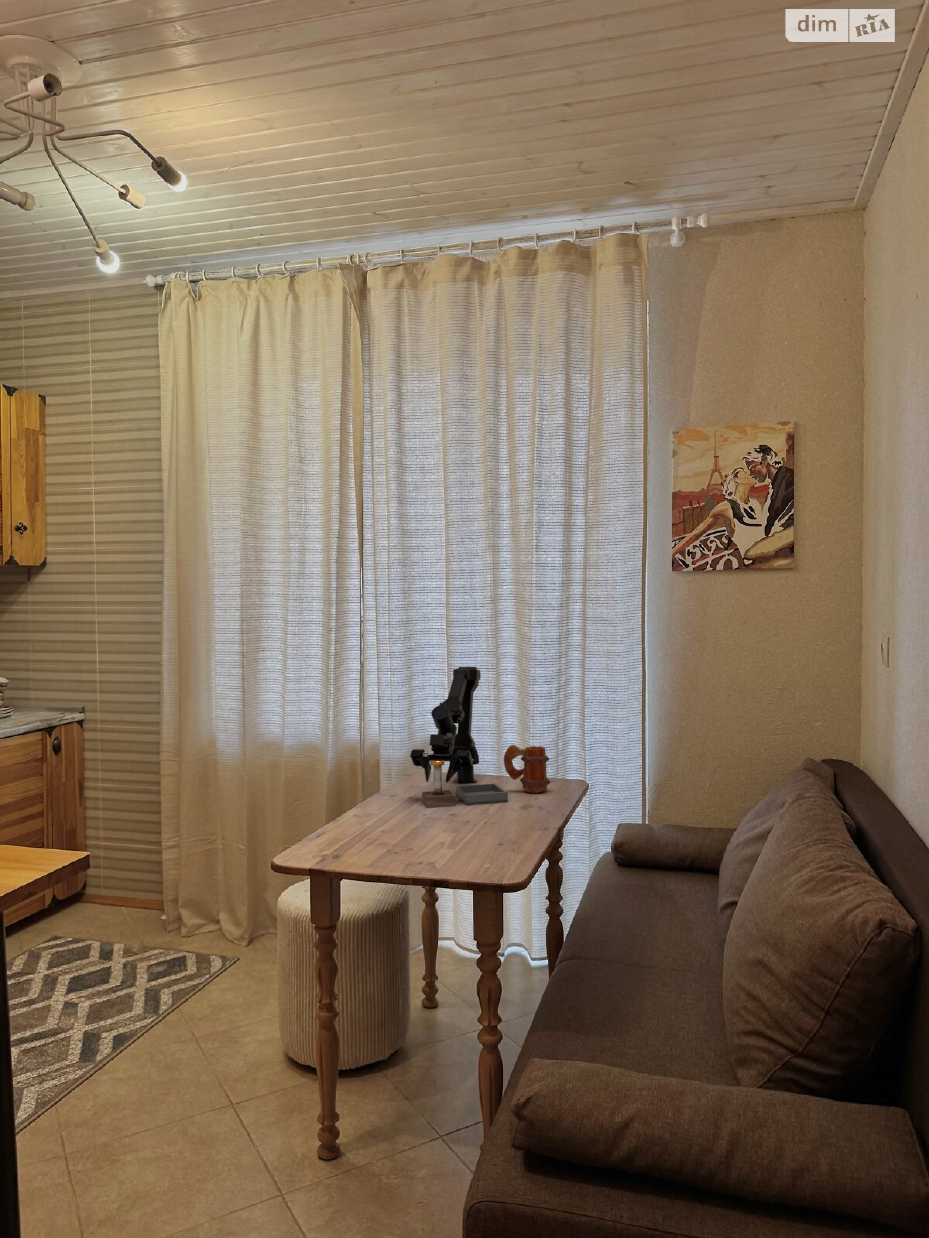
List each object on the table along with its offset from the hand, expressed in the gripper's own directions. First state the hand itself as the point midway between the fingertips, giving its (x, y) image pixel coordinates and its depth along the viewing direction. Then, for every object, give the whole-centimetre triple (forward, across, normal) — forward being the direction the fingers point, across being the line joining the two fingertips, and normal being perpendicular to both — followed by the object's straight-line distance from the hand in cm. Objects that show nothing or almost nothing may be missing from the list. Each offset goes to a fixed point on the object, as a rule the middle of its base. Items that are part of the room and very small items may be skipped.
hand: (436, 781), depth 275 cm
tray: (-2, +11, +12) cm, 17 cm away
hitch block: (+4, 0, +6) cm, 7 cm away
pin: (+4, 0, +6) cm, 7 cm away
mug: (-10, +24, +21) cm, 33 cm away
